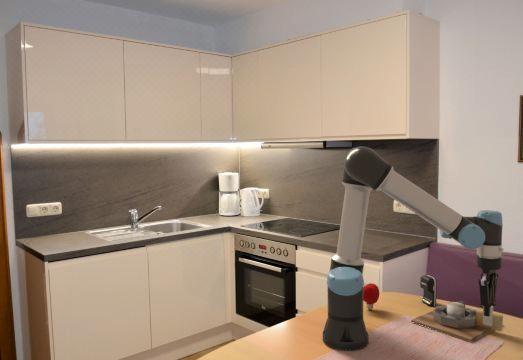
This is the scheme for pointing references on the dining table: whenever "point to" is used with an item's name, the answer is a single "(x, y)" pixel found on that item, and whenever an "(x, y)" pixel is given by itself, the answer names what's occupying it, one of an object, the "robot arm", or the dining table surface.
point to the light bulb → (370, 295)
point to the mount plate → (460, 333)
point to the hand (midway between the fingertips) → (487, 324)
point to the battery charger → (429, 290)
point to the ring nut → (466, 319)
